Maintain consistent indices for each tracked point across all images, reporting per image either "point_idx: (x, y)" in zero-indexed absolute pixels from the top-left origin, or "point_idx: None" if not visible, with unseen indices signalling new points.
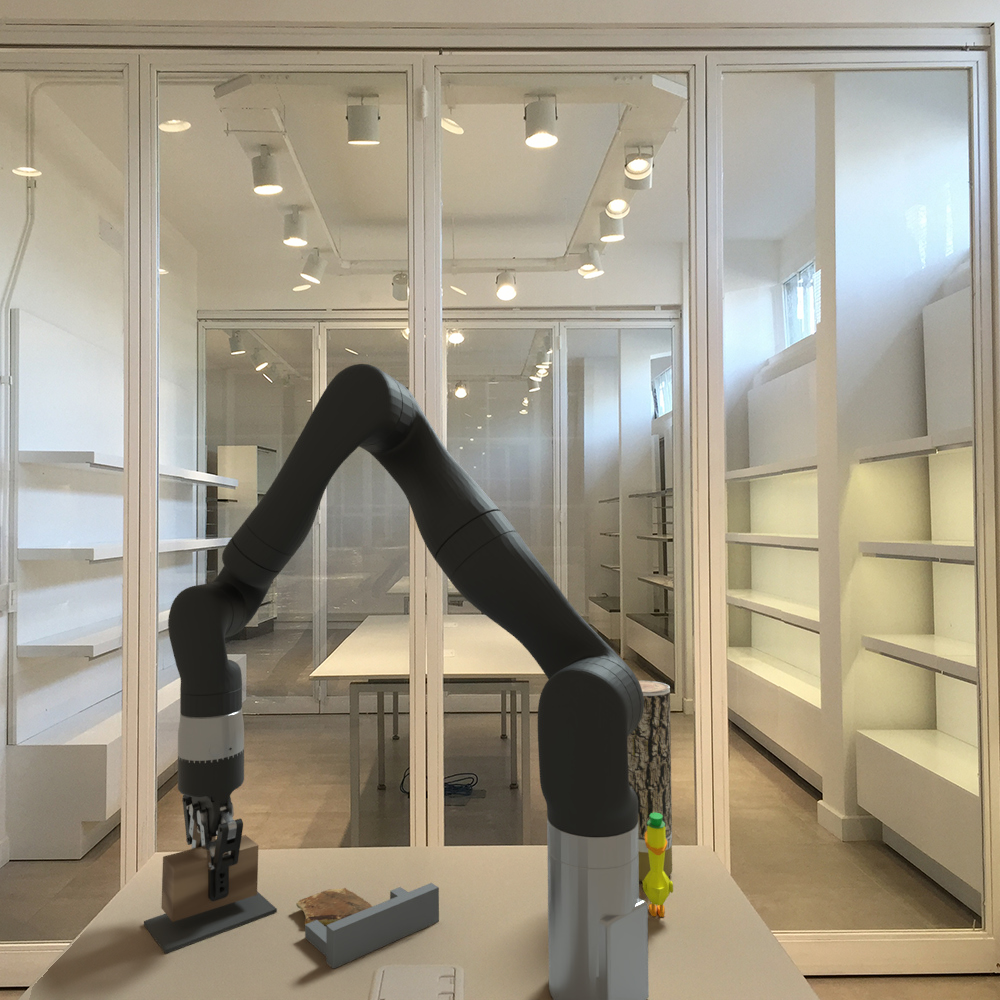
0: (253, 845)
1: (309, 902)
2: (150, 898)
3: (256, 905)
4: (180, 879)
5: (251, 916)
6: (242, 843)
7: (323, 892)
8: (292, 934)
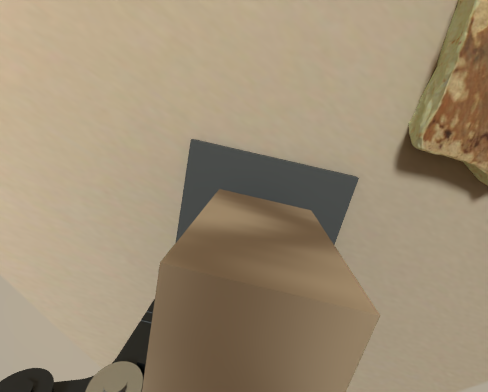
0: (354, 334)
1: (464, 126)
2: (74, 287)
3: (298, 196)
4: None
5: (331, 235)
6: (269, 351)
7: (468, 51)
8: (467, 218)
